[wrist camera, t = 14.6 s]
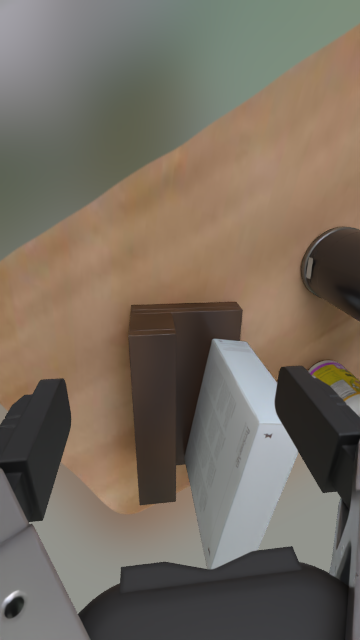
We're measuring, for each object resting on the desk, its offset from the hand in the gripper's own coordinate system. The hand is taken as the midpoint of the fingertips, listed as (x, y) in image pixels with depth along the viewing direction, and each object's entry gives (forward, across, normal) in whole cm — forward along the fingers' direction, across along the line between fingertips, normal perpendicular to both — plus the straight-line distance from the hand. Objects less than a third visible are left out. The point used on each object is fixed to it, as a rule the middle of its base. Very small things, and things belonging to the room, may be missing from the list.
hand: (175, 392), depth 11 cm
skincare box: (+25, -8, +21) cm, 34 cm away
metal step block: (+28, -4, +20) cm, 35 cm away
